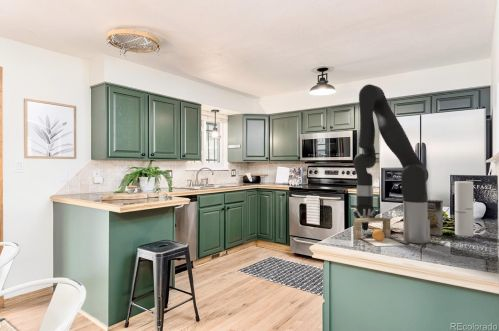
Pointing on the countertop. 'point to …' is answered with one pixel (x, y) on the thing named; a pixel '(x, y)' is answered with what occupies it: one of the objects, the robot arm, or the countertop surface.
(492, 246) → the countertop surface
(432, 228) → the coffee box
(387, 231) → the bridge
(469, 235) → the cylindrical container
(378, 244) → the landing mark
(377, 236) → the ball
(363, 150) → the robot arm
